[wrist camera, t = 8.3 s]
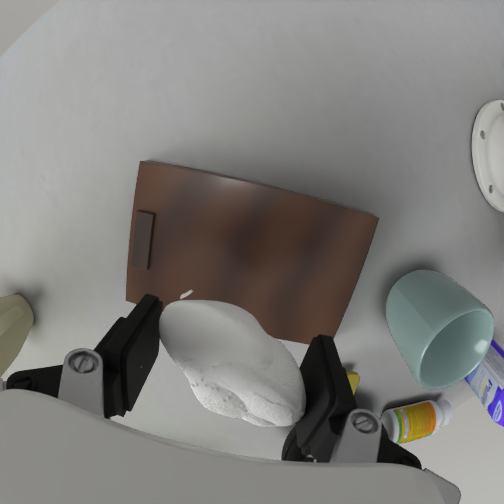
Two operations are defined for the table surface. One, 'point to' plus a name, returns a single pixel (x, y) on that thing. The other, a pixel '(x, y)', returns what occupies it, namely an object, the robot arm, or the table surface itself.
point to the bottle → (490, 382)
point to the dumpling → (233, 362)
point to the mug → (13, 328)
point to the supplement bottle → (416, 420)
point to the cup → (438, 327)
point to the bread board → (246, 248)
